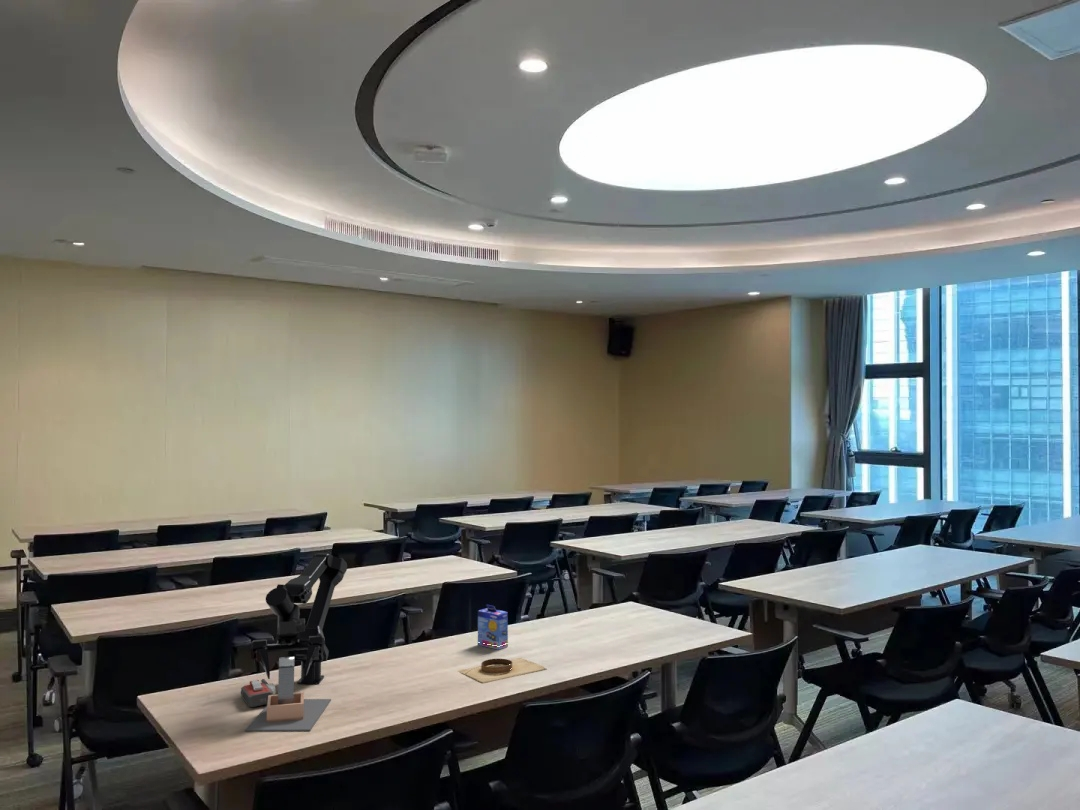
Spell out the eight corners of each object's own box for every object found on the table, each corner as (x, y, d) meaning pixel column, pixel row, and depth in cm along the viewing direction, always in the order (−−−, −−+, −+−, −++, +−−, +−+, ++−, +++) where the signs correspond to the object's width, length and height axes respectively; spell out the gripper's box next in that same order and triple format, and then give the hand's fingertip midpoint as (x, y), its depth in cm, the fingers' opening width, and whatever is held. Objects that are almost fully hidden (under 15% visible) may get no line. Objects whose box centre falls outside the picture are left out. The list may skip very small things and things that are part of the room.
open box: (268, 710, 204) (268, 695, 204) (303, 707, 207) (303, 692, 207) (266, 722, 196) (266, 706, 196) (303, 719, 198) (303, 703, 198)
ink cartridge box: (476, 645, 270) (476, 603, 271) (486, 642, 275) (487, 601, 276) (498, 650, 265) (498, 607, 265) (508, 646, 269) (508, 604, 270)
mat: (272, 700, 213) (272, 699, 213) (331, 700, 213) (331, 699, 214) (244, 731, 191) (244, 729, 191) (310, 731, 192) (310, 729, 192)
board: (481, 686, 229) (481, 675, 229) (454, 673, 241) (454, 663, 241) (547, 671, 244) (547, 661, 244) (519, 660, 256) (519, 650, 256)
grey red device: (283, 702, 210) (266, 684, 227) (283, 686, 210) (266, 669, 227) (249, 709, 205) (235, 690, 222) (249, 692, 205) (234, 674, 222)
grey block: (278, 710, 202) (279, 655, 203) (293, 709, 203) (294, 654, 204) (277, 715, 199) (278, 659, 200) (293, 714, 200) (294, 658, 201)
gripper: (251, 610, 206) (248, 664, 195) (324, 605, 211) (325, 658, 201) (252, 632, 213) (249, 685, 202) (323, 627, 219) (323, 679, 208)
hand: (287, 676), depth 203 cm, fingers open, 9 cm apart
